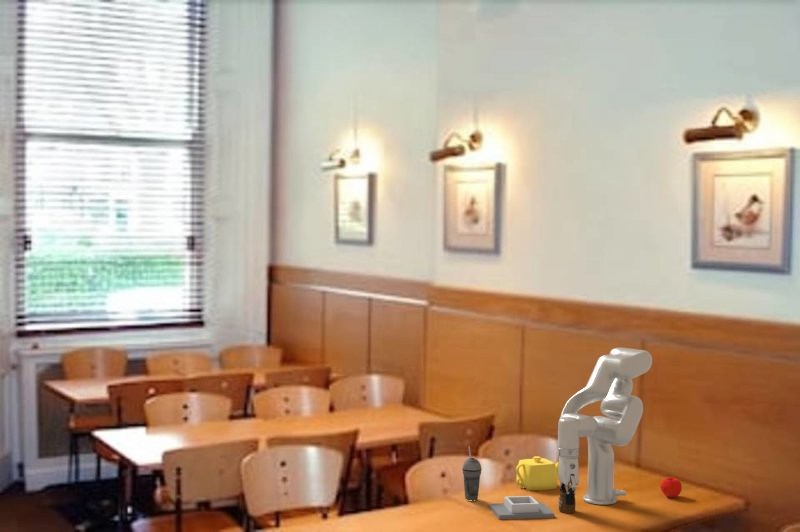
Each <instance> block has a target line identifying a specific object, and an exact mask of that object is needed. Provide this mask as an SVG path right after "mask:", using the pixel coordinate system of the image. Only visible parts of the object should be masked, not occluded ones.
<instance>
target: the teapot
mask: <svg viewBox="0 0 800 532" xmlns="http://www.w3.org/2000/svg"><path fill="white" fill-rule="evenodd" d="M558 465H559V461H556V463H555V462H554V461H552V460H550V459H547V458H543V457H541V456H539V455H536V456H533V457H532V458H525V459H519V461H518V464H517V466H515V472H516V476H515V477H516V481H515V482H516V484H517V485H518V486H519V485H520V486H522V487H524V488H526V489H527V491H528V490H537V491H547V490H548V491H549V490H555V489H557V487H558ZM520 486H519V487H520ZM522 487H521V488H522ZM524 488H523V489H524ZM526 489H525V490H526Z"/></svg>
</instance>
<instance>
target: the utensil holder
mask: <svg viewBox="0 0 800 532" xmlns="http://www.w3.org/2000/svg"><path fill="white" fill-rule="evenodd" d="M568 484H569V485H570V483H568ZM565 488H566V485H565ZM566 493H567V490H562V491H560V490H559V497H558V511H559V512H560V513H563V514H573V513H575V512H576V503H575V504H574V505H566ZM560 495H561V496H560Z"/></svg>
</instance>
